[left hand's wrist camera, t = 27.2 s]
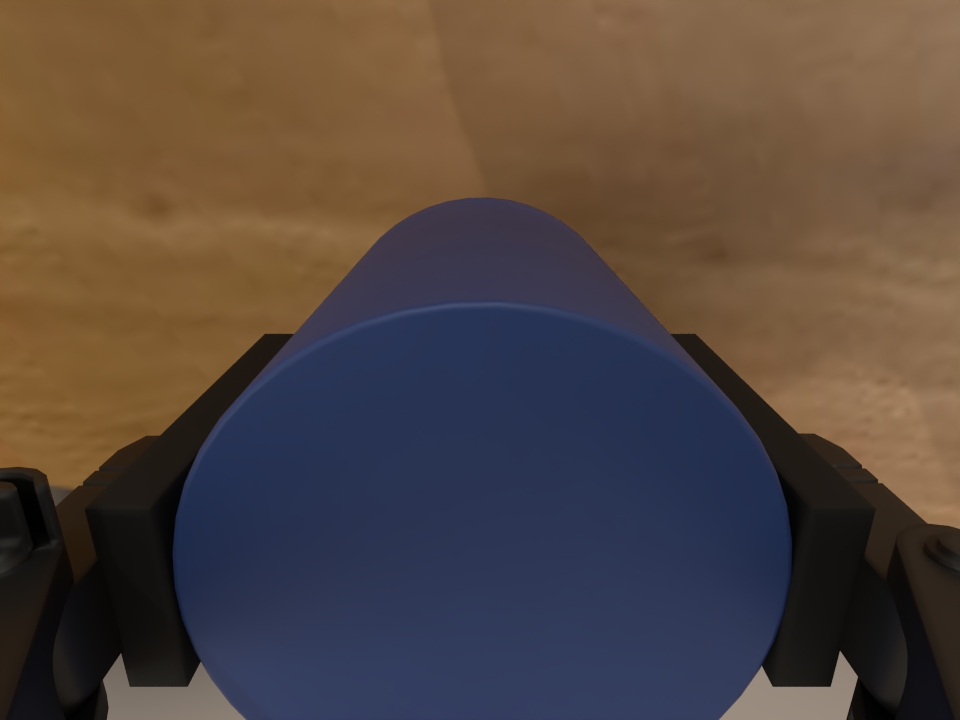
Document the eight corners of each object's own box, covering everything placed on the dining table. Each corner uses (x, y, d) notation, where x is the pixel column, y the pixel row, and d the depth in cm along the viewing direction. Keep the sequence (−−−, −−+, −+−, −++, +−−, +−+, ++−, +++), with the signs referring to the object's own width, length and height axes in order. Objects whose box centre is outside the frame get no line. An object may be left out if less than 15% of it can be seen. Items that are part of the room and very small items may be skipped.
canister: (519, 133, 15) (583, 146, 6) (672, 373, 17) (894, 659, 8) (281, 307, 17) (32, 537, 7) (449, 508, 19) (420, 879, 10)
